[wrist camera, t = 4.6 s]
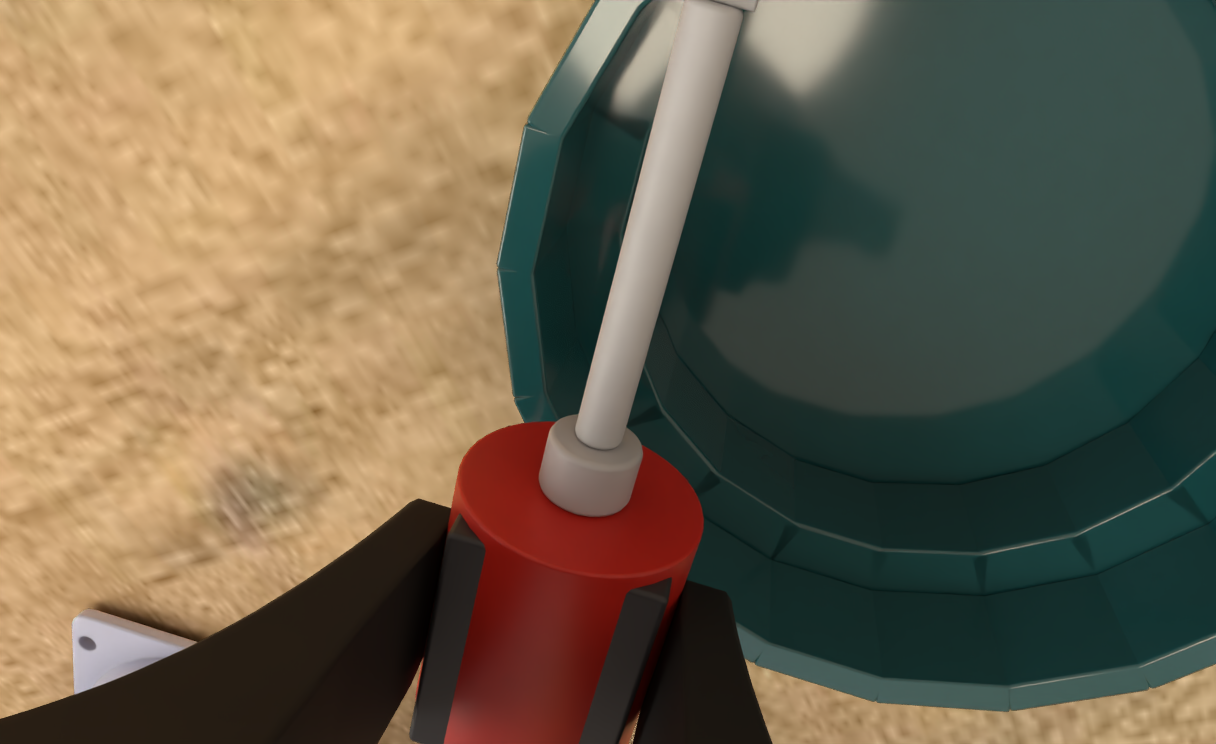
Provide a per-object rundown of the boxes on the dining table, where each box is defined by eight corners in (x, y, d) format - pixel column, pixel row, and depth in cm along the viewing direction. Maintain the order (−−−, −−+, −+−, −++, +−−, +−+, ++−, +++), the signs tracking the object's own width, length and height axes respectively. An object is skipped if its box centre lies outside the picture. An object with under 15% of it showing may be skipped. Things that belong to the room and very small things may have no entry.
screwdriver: (644, 662, 15) (610, 834, 12) (455, 604, 15) (380, 760, 13) (882, -31, 10) (917, -7, 7) (601, -106, 10) (531, -111, 8)
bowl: (1111, 602, 21) (1207, 807, 17) (513, 421, 22) (434, 566, 17) (1549, -70, 15) (1920, -59, 10) (678, -303, 15) (627, -400, 11)
